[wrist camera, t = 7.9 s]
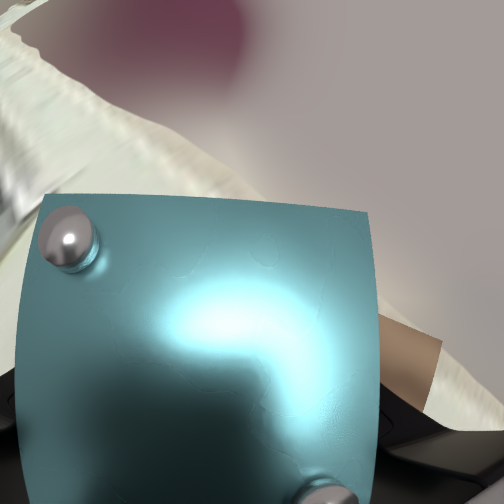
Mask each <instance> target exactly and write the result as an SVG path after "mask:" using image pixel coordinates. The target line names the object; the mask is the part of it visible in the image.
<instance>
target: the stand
mask: <svg viewBox="0 0 504 504" xmlns="http://www.w3.org/2000/svg"><path fill="white" fill-rule="evenodd" d="M378 320H379V347H380V382H381V383H382V384H384V385H385V386H386V387H387V388H389V389H390V390H391V391H392V392H394V393H395V394H396V395H398V396H399V397H400V398H402V399H403V400H405V401H406V402H407V403H409V404H410V405H412V406H413V407H415V408H416V409H418V410H419V411H421V412H423V410H424V407H425V404H426V400H427V397H428V394H429V391H430V387H431V384H432V381H433V377H434V373H435V370H436V366H437V362H438V358H439V354H440V349H441V345H442V341H441V340H439V339H436V338H434V337H432V336H429V335H427V334H425V333H422V332H420V331H418V330H415V329H413V328H411V327H408V326H406V325H404V324H401V323H399V322H397V321H394V320H392V319H390V318H387V317H385V316H383V315H380V314H378Z"/></svg>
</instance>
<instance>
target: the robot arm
mask: <svg viewBox="0 0 504 504" xmlns="http://www.w3.org/2000/svg"><path fill="white" fill-rule="evenodd" d="M0 504H30V501H29V497H28V493H27V489H26V484H25V479H24V474H23V469H22V463H21V457H20V450H19V442H18V433H17V423H16V408H15V367H14V368H13V369H11V370H10V371H8V372H7V373H5V374H3V375H2V376H0ZM370 504H504V430H502V431H457V430H453V429H449V428H447V427H444V426H443V425H441V424H439V423H438V422H436V421H434V420H433V419H431V418H430V417H428V416H427V415H425V414H424V413H422V412H421V411H419V410H418V409H416V408H415V407H413V406H412V405H410V404H409V403H407V402H406V401H405V400H403V399H402V398H400V397H399V396H398V395H396V394H395V393H394V392H392V391H391V390H390V389H389V388H387V387H386V386H385V385H384V384H382V383H381V382H380V395H379V420H378V436H377V448H376V459H375V468H374V477H373V485H372V492H371V498H370Z"/></svg>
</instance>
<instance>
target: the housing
mask: <svg viewBox="0 0 504 504" xmlns="http://www.w3.org/2000/svg"><path fill="white" fill-rule="evenodd" d="M379 395H380V347H379V320H378V304H377V290H376V279H375V268H374V259H373V250H372V242H371V234H370V228H369V221H368V214H367V212H360V211H352V210H343V209H335V208H326V207H316V206H306V205H297V204H285V203H274V202H263V201H250V200H237V199H222V198H206V197H187V196H166V195H137V194H45V195H44V198H43V201H42V204H41V208H40V211H39V214H38V218H37V221H36V225H35V229H34V233H33V237H32V241H31V245H30V249H29V254H28V258H27V263H26V268H25V274H24V279H23V285H22V291H21V298H20V305H19V314H18V323H17V334H16V349H15V408H16V423H17V433H18V442H19V450H20V457H21V463H22V469H23V474H24V479H25V484H26V489H27V493H28V497H29V501H30V504H370V498H371V492H372V485H373V477H374V468H375V459H376V448H377V436H378V420H379Z"/></svg>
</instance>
